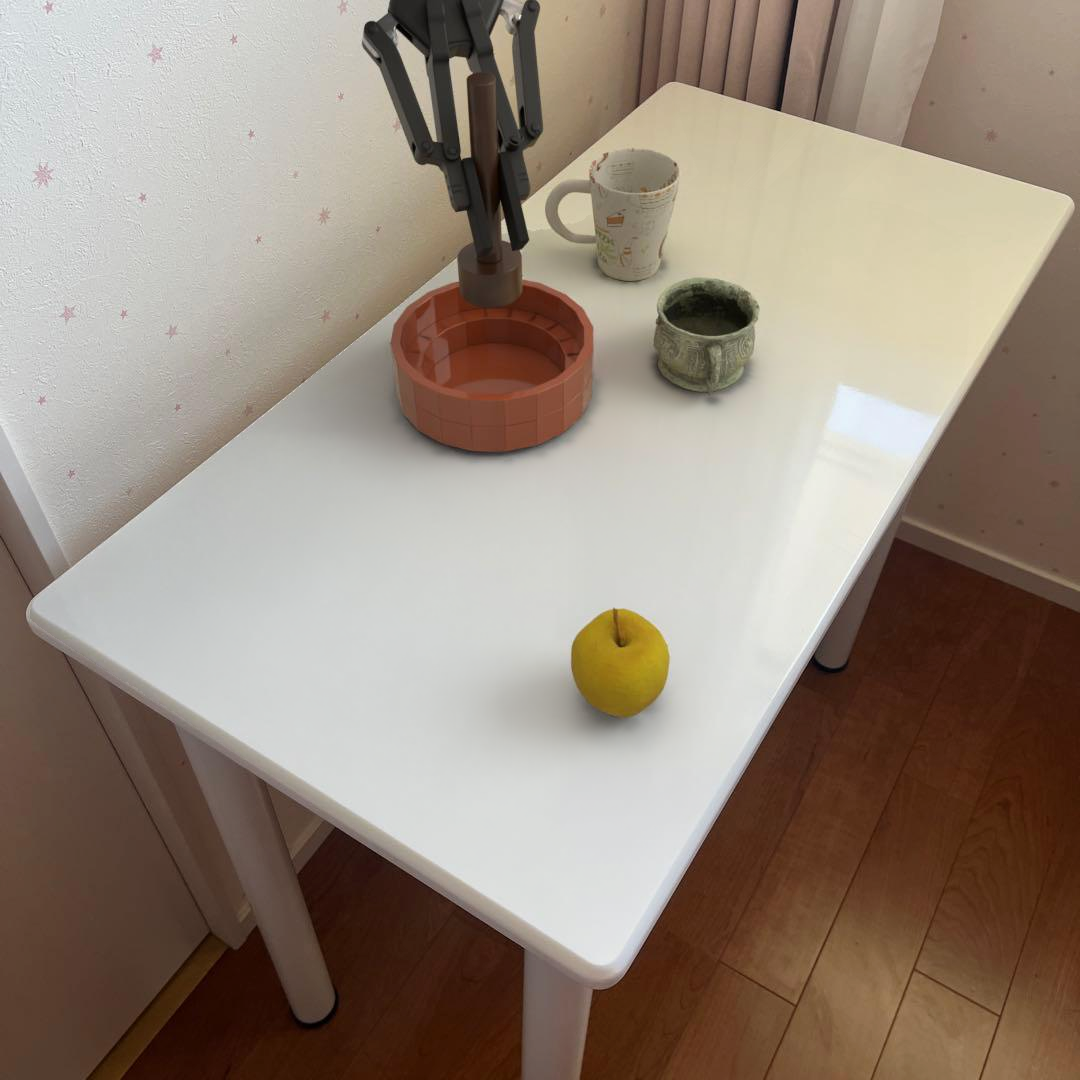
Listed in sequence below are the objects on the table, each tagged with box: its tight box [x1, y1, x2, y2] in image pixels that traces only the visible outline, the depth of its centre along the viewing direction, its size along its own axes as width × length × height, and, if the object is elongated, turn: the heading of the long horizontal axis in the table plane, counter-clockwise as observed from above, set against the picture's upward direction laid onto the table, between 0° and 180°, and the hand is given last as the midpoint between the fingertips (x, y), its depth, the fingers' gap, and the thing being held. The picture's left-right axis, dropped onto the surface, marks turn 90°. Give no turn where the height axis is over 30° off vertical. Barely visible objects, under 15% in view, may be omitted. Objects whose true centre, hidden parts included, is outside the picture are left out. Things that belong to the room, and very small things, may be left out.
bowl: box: [389, 278, 595, 453], centre depth 93 cm, size 17×17×6 cm
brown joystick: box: [456, 72, 523, 308], centre depth 81 cm, size 5×5×17 cm
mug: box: [544, 147, 681, 282], centre depth 105 cm, size 8×13×10 cm, turn 81°
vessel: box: [653, 277, 760, 396], centre depth 95 cm, size 12×9×6 cm
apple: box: [570, 607, 671, 718], centre depth 71 cm, size 6×6×8 cm
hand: (503, 248), depth 80 cm, fingers closed on brown joystick, 2 cm apart
